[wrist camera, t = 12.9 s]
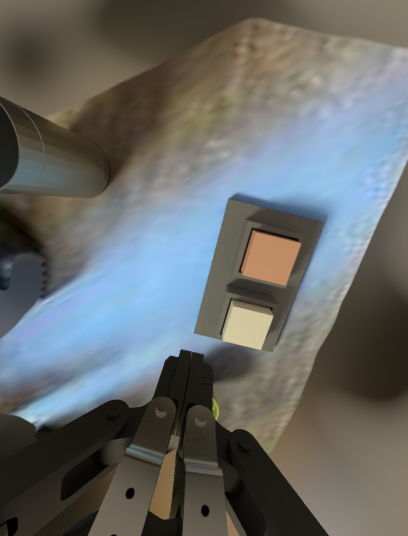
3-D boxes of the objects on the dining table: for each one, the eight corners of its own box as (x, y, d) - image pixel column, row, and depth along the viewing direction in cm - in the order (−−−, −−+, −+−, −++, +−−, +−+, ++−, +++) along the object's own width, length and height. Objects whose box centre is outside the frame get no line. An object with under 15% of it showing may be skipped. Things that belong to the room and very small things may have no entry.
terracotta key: (240, 269, 35) (243, 275, 32) (252, 229, 33) (256, 232, 30) (279, 279, 35) (285, 285, 32) (294, 240, 33) (301, 243, 30)
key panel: (194, 329, 44) (192, 344, 39) (228, 198, 36) (230, 198, 31) (270, 347, 44) (277, 364, 39) (319, 221, 36) (335, 224, 32)
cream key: (222, 330, 39) (222, 340, 36) (232, 298, 37) (233, 306, 34) (257, 339, 39) (260, 349, 36) (269, 307, 37) (273, 315, 34)
